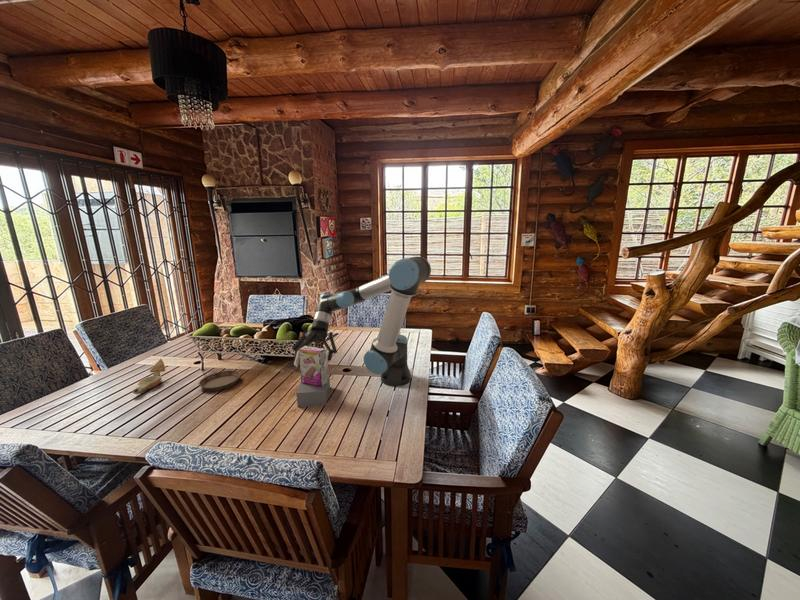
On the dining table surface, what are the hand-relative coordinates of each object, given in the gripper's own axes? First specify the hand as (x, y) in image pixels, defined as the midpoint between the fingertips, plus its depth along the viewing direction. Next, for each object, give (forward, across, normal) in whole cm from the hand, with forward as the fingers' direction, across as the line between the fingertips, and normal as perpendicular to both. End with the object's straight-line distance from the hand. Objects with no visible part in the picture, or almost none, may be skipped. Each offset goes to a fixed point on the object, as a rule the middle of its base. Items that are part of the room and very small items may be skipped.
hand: (310, 366), depth 138 cm
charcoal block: (+10, 0, -13) cm, 16 cm away
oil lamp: (+10, +83, -12) cm, 85 cm away
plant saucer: (+6, +51, -17) cm, 54 cm away
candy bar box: (+5, 0, -8) cm, 10 cm away
